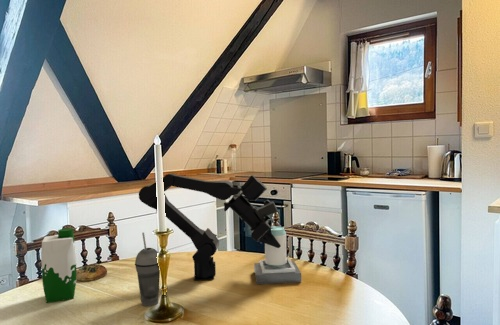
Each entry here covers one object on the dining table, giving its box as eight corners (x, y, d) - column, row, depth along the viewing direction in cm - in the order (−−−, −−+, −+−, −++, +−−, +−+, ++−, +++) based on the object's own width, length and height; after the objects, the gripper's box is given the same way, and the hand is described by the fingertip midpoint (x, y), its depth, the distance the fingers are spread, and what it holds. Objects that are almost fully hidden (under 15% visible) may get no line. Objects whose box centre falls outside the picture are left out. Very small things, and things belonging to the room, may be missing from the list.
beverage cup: (156, 309, 100) (153, 235, 99) (131, 307, 101) (128, 235, 100) (167, 298, 107) (164, 229, 106) (144, 297, 108) (141, 229, 108)
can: (267, 268, 118) (266, 230, 118) (263, 261, 125) (263, 226, 125) (288, 266, 119) (288, 229, 118) (284, 260, 126) (283, 225, 125)
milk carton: (77, 299, 108) (73, 231, 108) (41, 305, 105) (38, 235, 104) (78, 289, 116) (75, 226, 116) (45, 294, 113) (42, 229, 112)
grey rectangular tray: (257, 284, 116) (256, 271, 116) (254, 271, 128) (254, 259, 127) (301, 282, 116) (301, 269, 116) (294, 269, 128) (294, 257, 128)
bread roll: (112, 270, 134) (110, 257, 133) (100, 285, 123) (98, 271, 122) (81, 272, 134) (79, 259, 133) (67, 288, 123) (64, 274, 122)
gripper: (261, 197, 112) (298, 233, 112) (263, 190, 131) (295, 221, 130) (236, 223, 113) (272, 259, 112) (241, 212, 131) (273, 243, 131)
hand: (279, 244), depth 122 cm, fingers closed on can, 7 cm apart
